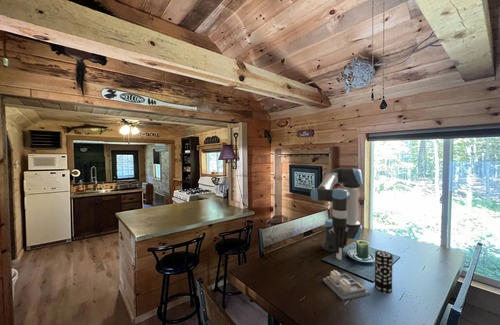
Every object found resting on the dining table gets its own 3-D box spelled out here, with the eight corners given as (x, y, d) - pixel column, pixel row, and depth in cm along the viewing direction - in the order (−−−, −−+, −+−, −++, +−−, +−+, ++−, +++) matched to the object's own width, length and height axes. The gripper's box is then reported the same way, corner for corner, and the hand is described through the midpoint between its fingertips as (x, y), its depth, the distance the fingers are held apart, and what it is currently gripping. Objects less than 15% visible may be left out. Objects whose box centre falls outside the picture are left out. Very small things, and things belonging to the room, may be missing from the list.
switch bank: (347, 276, 135) (347, 271, 135) (369, 294, 118) (369, 289, 118) (322, 280, 131) (322, 275, 131) (342, 300, 114) (342, 294, 113)
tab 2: (345, 287, 121) (345, 277, 121) (350, 292, 118) (350, 281, 117) (339, 289, 120) (339, 278, 120) (344, 293, 117) (344, 283, 116)
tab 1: (336, 278, 130) (336, 269, 130) (340, 282, 126) (340, 272, 126) (330, 279, 129) (330, 270, 129) (334, 283, 125) (334, 273, 125)
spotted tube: (373, 283, 128) (374, 249, 127) (390, 286, 125) (390, 251, 124) (376, 291, 120) (376, 256, 119) (393, 295, 117) (394, 258, 116)
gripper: (344, 214, 126) (344, 254, 127) (325, 215, 123) (324, 257, 124) (354, 217, 119) (353, 260, 120) (333, 219, 116) (333, 263, 116)
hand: (339, 258), depth 122 cm, fingers closed
